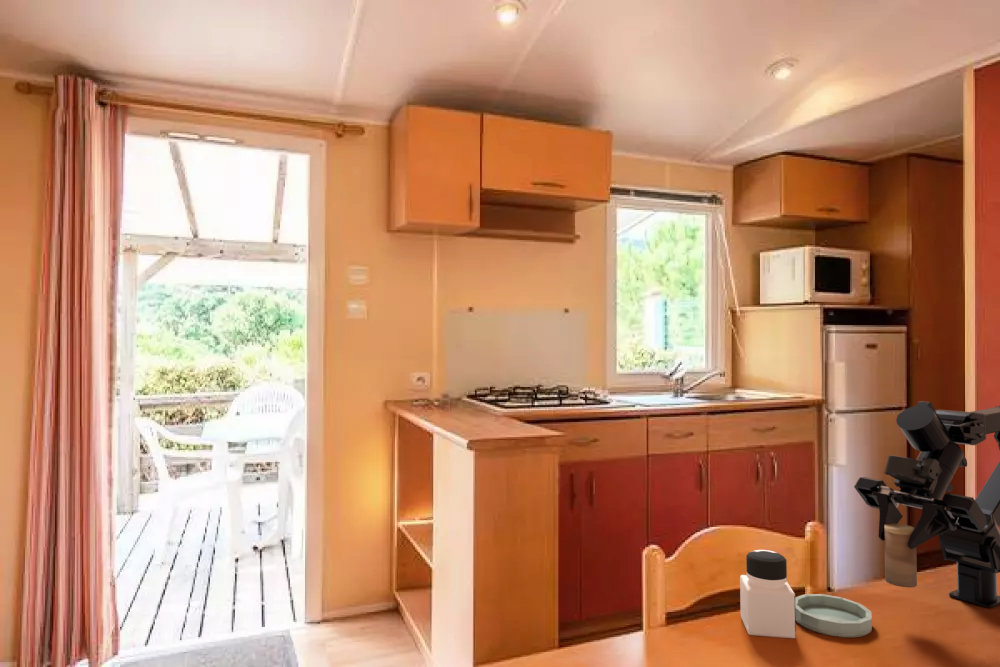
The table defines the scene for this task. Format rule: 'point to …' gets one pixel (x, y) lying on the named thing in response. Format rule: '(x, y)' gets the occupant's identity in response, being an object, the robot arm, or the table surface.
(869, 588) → the table surface
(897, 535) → the spice jar
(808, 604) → the dish
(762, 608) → the medicine bottle
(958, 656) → the table surface
